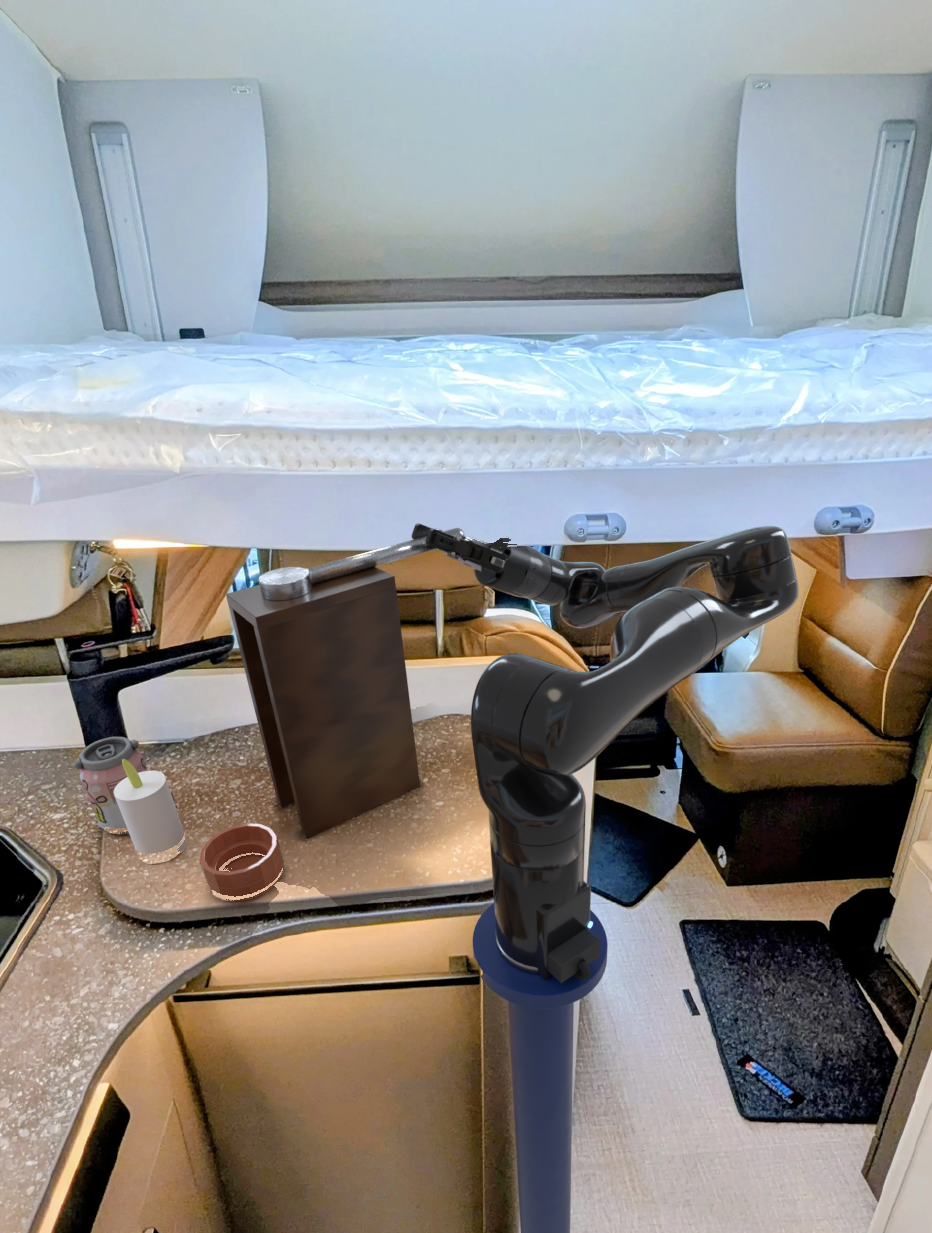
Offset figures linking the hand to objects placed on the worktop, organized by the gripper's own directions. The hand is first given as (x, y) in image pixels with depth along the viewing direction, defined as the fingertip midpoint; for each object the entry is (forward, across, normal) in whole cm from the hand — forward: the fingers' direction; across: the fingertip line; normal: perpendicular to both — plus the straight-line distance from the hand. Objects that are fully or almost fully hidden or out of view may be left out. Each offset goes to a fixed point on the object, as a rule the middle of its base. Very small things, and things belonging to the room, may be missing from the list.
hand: (422, 533), depth 92 cm
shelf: (-3, 0, +38) cm, 38 cm away
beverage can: (+20, -16, +52) cm, 58 cm away
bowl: (+13, +7, +47) cm, 49 cm away
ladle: (+6, 0, +6) cm, 8 cm away
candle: (+19, -6, +51) cm, 54 cm away
